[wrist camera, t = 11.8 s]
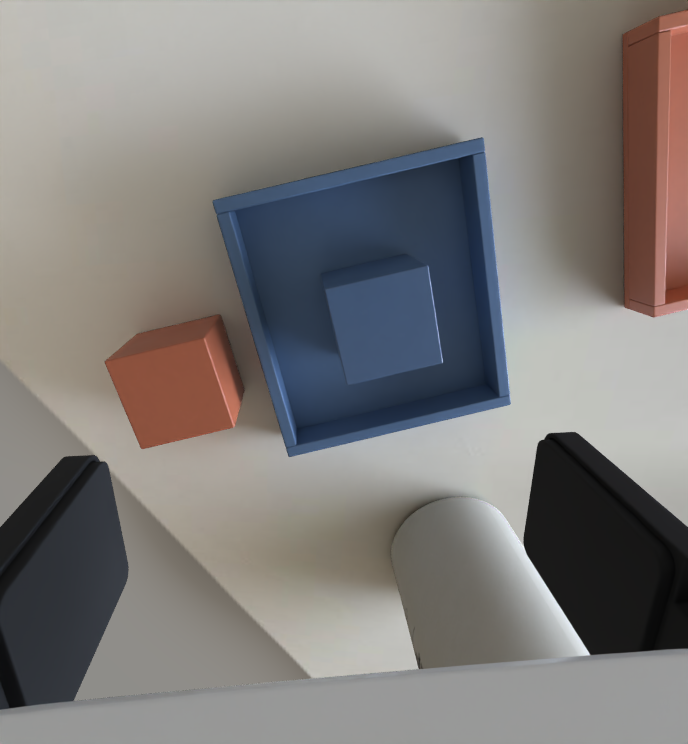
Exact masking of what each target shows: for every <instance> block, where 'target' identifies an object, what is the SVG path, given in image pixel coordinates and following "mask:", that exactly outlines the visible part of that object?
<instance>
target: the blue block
mask: <svg viewBox="0 0 688 744" xmlns="http://www.w3.org/2000/svg"><path fill="white" fill-rule="evenodd" d="M320 276H321V280H322V284H323V289H324V293H325V297H326V301H327V306H328V310H329V314H330V319H331V323H332V327H333V331H334V336H335V340H336V344H337V348H338V353H339V357H340V361H341V365H342V369H343V373H344V377H345V381H346V384H347V385H351V384H356V383H360V382H364V381H368V380H372V379H377V378H381V377H385V376H389V375H394V374H398V373H402V372H406V371H410V370H415V369H419V368H423V367H427V366H432V365H436V364H440V363H443V359H442V352H441V346H440V339H439V333H438V326H437V320H436V313H435V307H434V300H433V294H432V287H431V280H430V274H429V267H428V265H426V264H424V263H423V262H421V261H419V260H417V259H415V258H413V257H411V256H409V255H408V254H401V255H397V256H393V257H389V258H384V259H380V260H376V261H372V262H367V263H363V264H359V265H355V266H350V267H346V268H342V269H337V270H333V271H329V272H325V273H321V274H320Z"/></svg>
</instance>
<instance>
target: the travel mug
mask: <svg viewBox="0 0 688 744" xmlns="http://www.w3.org/2000/svg"><path fill="white" fill-rule="evenodd" d="M391 561H392V565H393V569H394V573H395V577H396V581H397V585H398V589H399V593H400V597H401V601H402V605H403V609H404V613H405V617H406V620H407V624H408V628H409V632H410V636H411V640H412V644H413V648H414V652H415V656H416V660H417V664H418V668H419V669H428V668H440V667H451V666H463V665H475V664H488V663H500V662H512V661H525V660H537V659H550V658H562V657H574V656H587V655H590V654H589V652H588V650H587V649H586V647H585V646H584V644H583V643H582V641H581V639H580V638H579V636H578V635H577V633H576V632H575V630H574V628H573V627H572V625H571V624H570V622H569V620H568V619H567V617H566V616H565V614H564V613H563V611H562V609H561V608H560V606H559V605H558V603H557V602H556V600H555V598H554V597H553V595H552V594H551V592H550V591H549V589H548V587H547V586H546V584H545V583H544V581H543V580H542V578H541V576H540V575H539V573H538V572H537V570H536V569H535V567H534V565H533V564H532V562H531V561H530V559H529V557H528V556H527V554H526V551H525V548H524V547H523V545H522V544H521V542H520V540H519V539H518V537H517V536H516V534H515V533H514V531H513V530H512V528H511V526H510V525H509V523H508V522H507V520H506V519H505V517H504V516H503V515H502V513H501V512H500V511H499V510H498V509H496V508H495V507H494V506H492V505H490V504H489V503H487V502H485V501H482V500H479V499H475V498H469V497H451V498H445V499H441V500H438V501H435V502H432V503H430V504H428V505H425V506H424V507H422V508H420V509H419V510H417V511H416V512H414V513H413V514H412V515H411V516H410V517H409V518H408V519H406V521H405V522H404V523H403V524H402V525H401V527H400V528H399V530H398V532H397V533H396V535H395V538H394V540H393V543H392V548H391Z"/></svg>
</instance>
